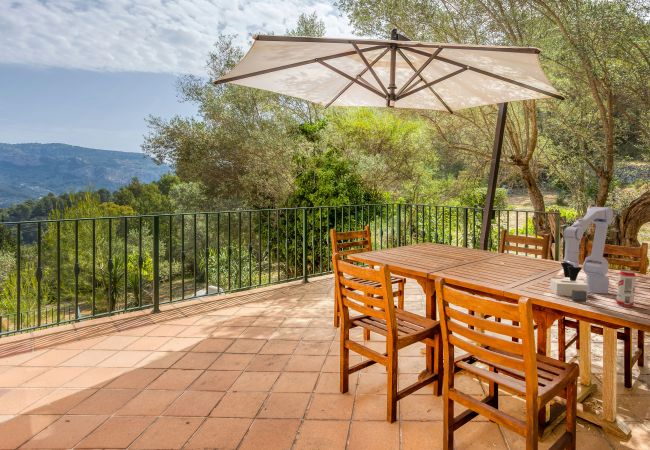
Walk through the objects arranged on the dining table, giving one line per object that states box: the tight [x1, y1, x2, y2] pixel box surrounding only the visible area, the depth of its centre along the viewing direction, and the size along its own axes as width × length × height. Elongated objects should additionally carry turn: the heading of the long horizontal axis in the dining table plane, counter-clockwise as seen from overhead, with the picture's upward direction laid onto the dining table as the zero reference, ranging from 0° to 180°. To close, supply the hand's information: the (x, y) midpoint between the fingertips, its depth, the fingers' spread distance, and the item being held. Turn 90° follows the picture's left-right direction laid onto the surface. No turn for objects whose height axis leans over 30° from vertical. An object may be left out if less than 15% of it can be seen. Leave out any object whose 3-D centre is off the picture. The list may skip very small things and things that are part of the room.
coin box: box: [549, 278, 589, 298], centre depth 198 cm, size 14×10×6 cm
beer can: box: [615, 269, 637, 308], centre depth 178 cm, size 6×6×16 cm
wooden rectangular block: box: [571, 290, 588, 303], centre depth 185 cm, size 6×2×5 cm, turn 76°
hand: (569, 278), depth 189 cm, fingers open, 7 cm apart
